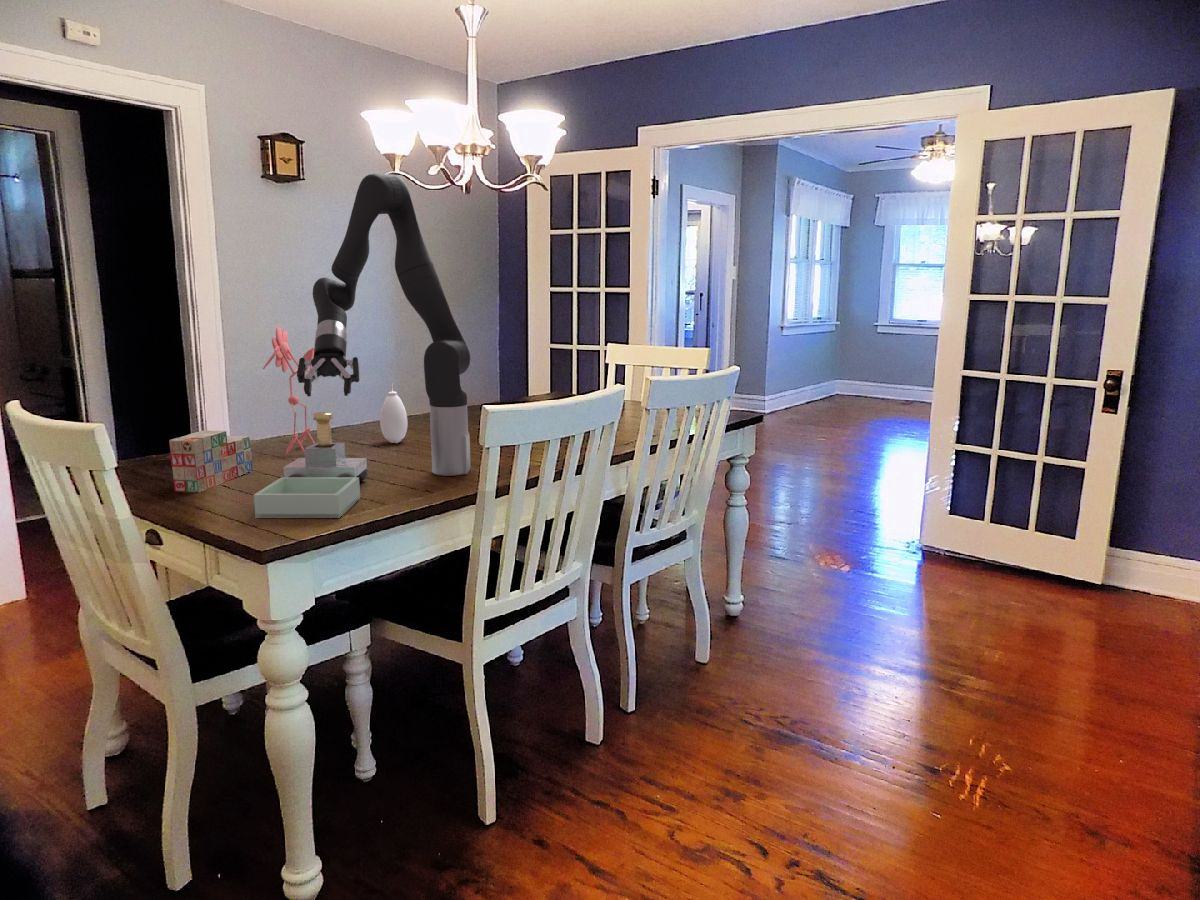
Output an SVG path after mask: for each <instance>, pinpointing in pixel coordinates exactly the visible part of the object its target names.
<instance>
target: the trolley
mask: <svg viewBox="0 0 1200 900" xmlns="http://www.w3.org/2000/svg"><path fill="white" fill-rule="evenodd" d="M304 450H305V454H304V457H298V458H297V459H295V460H294V461H292V462H290V463H288V464H286V465H284V466H283V467H282V468H283V477H359V483H361V482H363V481H364V480H366V478H367V477H368V475H369V470H368V465H367V464H368V463H367V457H346V447H345V442H332V447H318V442H315V443H313V442H312V444H310V445H308V446H306V447H304Z"/></svg>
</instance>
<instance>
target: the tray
mask: <svg viewBox="0 0 1200 900" xmlns="http://www.w3.org/2000/svg"><path fill="white" fill-rule="evenodd" d="M358 500H359V501H361V489H360V482H359V477H284V476H283V477H280V478H278V479H276V480H275V481H273V482H271V483H270V484H269V485H267V486H266V487H264V488H262V489H260V490H259V491H257V492H256V493H253V504H254V505H253V506H254V507H253V508H254V516H255V518H254V519H256V518H340V517H341V516H342V515H343V514H344V513H345V512H347V511H348V510H349V509H350V508H351V507H352V506H353V505H354V504H355V503H356V502H357V501H358ZM359 501H358V502H359ZM358 502H357V503H358ZM357 503H356V504H357ZM356 504H355V505H356ZM355 505H354V506H355ZM354 506H353V507H354ZM353 507H352V508H353ZM352 508H351V509H352ZM351 509H350V510H351ZM350 510H349V511H350ZM349 511H348V512H349ZM348 512H347V513H348ZM345 514H346V513H345ZM345 514H344V515H345ZM344 515H343V516H344ZM343 516H342V517H343ZM342 517H341V518H342ZM341 518H340V519H341Z"/></svg>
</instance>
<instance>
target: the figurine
mask: <svg viewBox="0 0 1200 900" xmlns="http://www.w3.org/2000/svg"><path fill="white" fill-rule="evenodd" d="M288 335H289V334H288V331H287V330H283V332H282V328H281V327H280V326H278V327H276V329H275V337H276V338H275V337H274V336H272V337H271V345H272V348H273V349H274V350H273V353H272V355H271V356H270V357H269V358H268V360H267V361H266V363H265V364H264V365H263V368H262V369H263V370H265V369H266V367H267V366H268V365H269V364H270V363H271V361H272V360H273V359H275V361H274V362H275V363H274V364H275V367H276V368H279V367H281V371H282V372H283V373H286V371H287V370H288V367H289V369H290V372H291V373H292V374H291V375H290V376H289V378H288V379H289V381H288V383H289V390H290V392H289V393H290V396H289V397H288V399H287V400H288V401H287V402H288V403H289V404H290V405H291V408H292V411H293V412H294V416H293V419H294V422H293V423H294V425H293V436H292V439H291V440H290V441H289V444H288V446H287V449H286V452H285V454H284V455H285V457H287V455H288V454H289V453H290V452H291V450H292V449H293V448H294V445H295V444H296V442H297V445H298V447H300V449H301V450H302V452H303V454H304V455H305V450H304V449H305V447H303V445H302V444H304V442H305V440H306V439H307V438H309V439H310V441H311V442H312V444H313V443H316V442H315V441H314V439H313V437H312V436H311V434H310V431H311V429H310V428H309V427H307V405H305V404H302V403H300V399H299V398H298V396H296V395H293V386H292V385H293V384H292V378H293V377H294V376H295V375H297V371H298V365H299V362H297V359H296V358H295V357H294V355H293V354H292V351H291V349H290V346H289V345H290V344H289V342H288V341H289V337H288ZM313 357H314V347H312V348H310V349H308V350H307V351H306V352H305V353H304V354H303V356H302V357H301V358H304V359H305V360H312V359H313ZM292 360H293V362H294V363H295V365H296V367H297V368H296V369H293V367H292V365H291V363H290V361H292ZM311 368H312V366H309V369H307V370H305V372H306V373H309V372H310V369H311ZM297 404H298V405H300V406H302V407H304V425H305V427H304V429H305V430H304V432H303V433H302V434H301V436H300V438H299V439H298V435H299V434H298V433H296V423H297V422H296V421H297V420H296V419H297V418H296V417H297V412H296V409H295V407H294V406H296V405H297Z"/></svg>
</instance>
